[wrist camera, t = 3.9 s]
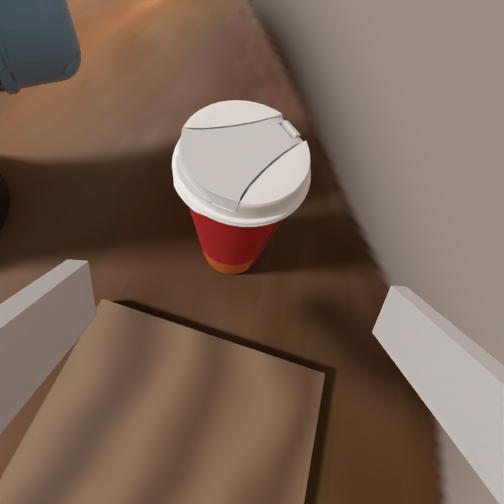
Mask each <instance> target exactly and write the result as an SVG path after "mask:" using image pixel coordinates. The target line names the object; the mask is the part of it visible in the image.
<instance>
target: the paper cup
mask: <svg viewBox="0 0 504 504" xmlns="http://www.w3.org/2000/svg"><path fill="white" fill-rule="evenodd" d="M300 135H301V134H300V133H299V132H298V131H297V130H296V129H295V128H294V127H293V126H292V124H291V123H290V122H289V121H287V120H285V121H284V120H283V119H282V113H280V112H278V111H276V110H275V109H272V108H270V107H268V106H265V105H262V104H259V103H255V102H250V101H240V100H235V101H223V102H218V103H215V104H211V105H209V106H207V107H204V108H202V109H201V110H199V111H198V112H196V113H195V114H194V115H193V116H191V117H190V118H189V120H188V121H187V122H186V123H185V125H184V127H183V128H182V133H181V138H180V139H179V141H178V143H177V145H176V147H175V150H174V153H173V157H172V171H173V182H174V187H175V189H176V191H177V193H178V194H179V196H180V197H181V198H182V200H183V201H184V202H185V203H186V204H187V205H188V206H189V208H190V211H191V214H192V218H193V221H194V224H195V227H196V231H197V234H198V237H199V240H200V243H201V246H202V249H203V252H204V255H205V257H206V259H207V261H208V263H209V264H210V265H211V266H212V267H213V268H214V269H215V270H217V271H218V272H221V273H223V274H229V275H234V274H239V273H242V272H244V271H246V270H248V269H249V268H250V267H251V266H252V265H253V264H254V263H255V261H256V260H257V259H258V257H259V256H260V254H261V253H262V251H263V250H264V248H265V247H266V245H267V244H268V243H269V241H270V240H271V238H272V237H273V235H274V234H275V232H276V231H277V229H278V228H279V226H280V225H281V223H282V222H283V220H284V219H285V218H286V217H287V216H289V215H290V214H291V213H293V212H294V211H295V210H296V209H297V208H298V207H299V206H300V205H301V203H302V202H303V200H304V199H305V197H306V195H307V192H308V190H309V186H310V181H311V171H310V152H309V147H308V144H307V142H306V141H304V142H303V141H302V140H301V138H300V137H299V136H300Z"/></svg>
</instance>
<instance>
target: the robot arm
mask: <svg viewBox="0 0 504 504" xmlns="http://www.w3.org/2000/svg"><path fill="white" fill-rule="evenodd" d="M80 62H81V50H80V46H79V42H78V38H77V35H76V32H75V28H74V25H73V22H72V19H71V16H70V13H69V9H68V6H67V3H66V0H0V92H5V91H6V92H7V93H9V94H17V93H18V92H19V91H20V89H21V88H26V87H31V86H37V85H42V84H47V83H53V82H58V81H63V80H67V79H69V78H71V77H72V76H73V75H75V73H76V72H77V71H78V69H79V66H80ZM7 208H8V192H7V188H6V185H5V182H4V180H3V179H2V177H1V176H0V228H1V226H2V224H3V221H4V219H5V216H6V213H7ZM96 317H97V314H96V308H95V302H94V295H93V289H92V283H91V276H90V270H89V264H88V261H82V260H70V259H67V260H66V261H64V262H63V263H61V264H60V265H58V266H57V267H55V268H54V269H52V270H51V271H49V272H48V273H46V274H45V275H43V276H42V277H40V278H39V279H37V280H36V281H34V282H33V283H31V284H30V285H28V286H27V287H25V288H24V289H22V290H21V291H19V292H18V293H16V294H15V295H13V296H12V297H10V298H9V299H7V300H6V301H4V302H3V303H1V304H0V434H1V433H2V431H3V430H4V429H5V428H6V427H7V425H8V424H9V423H10V422H11V420H12V419H13V418H14V417H15V416H16V414H17V413H18V412H19V411H20V410H21V408H22V407H23V406H24V405H25V403H26V402H27V401H28V400H29V399H30V397H31V396H32V395H33V394H34V392H35V391H36V390H37V389H38V388H39V386H40V385H41V384H42V383H43V382H44V380H45V379H46V378H47V377H48V375H49V374H50V373H51V372H52V371H53V369H54V368H55V367H56V366H57V364H58V363H59V362H60V361H61V360H62V358H63V357H64V356H65V355H66V353H67V352H68V351H69V350H70V349H71V347H72V346H73V345H74V344H75V343H76V341H77V340H78V339H79V338H80V336H81V335H82V334H83V333H84V332H85V330H86V329H87V328H88V327H89V325H90V324H91V323H92V322H93V321H94V319H95V318H96ZM372 333H373V334H374V336H375V337H376V338H377V340H378V341H379V342H380V344H381V345H382V346H383V348H384V349H385V350H386V352H387V353H388V354H389V356H390V357H391V359H392V360H393V361H394V363H395V364H396V365H397V367H398V368H399V369H400V371H401V372H402V373H403V375H404V376H405V377H406V379H407V380H408V381H409V383H410V384H411V385H412V387H413V388H414V389H415V391H416V392H417V393H418V395H419V396H420V397H421V399H422V400H423V402H424V403H425V404H426V406H427V407H428V408H429V410H430V411H431V412H432V414H433V415H434V416H435V418H436V419H437V420H438V422H439V423H440V424H441V426H442V427H443V428H444V430H445V431H446V432H447V434H448V435H449V436H450V438H451V439H452V441H453V442H454V443H455V445H456V446H457V447H458V449H459V450H460V451H461V452H462V454H463V455H464V457H465V458H466V459H467V461H468V462H469V463H470V465H471V466H472V467H473V468H474V470H475V471H476V473H477V474H478V475H479V477H480V478H481V480H482V481H483V482H484V483H485V485H486V486H487V487H488V489H489V490H490V491H491V493H492V494H493V496H494V497H495V498H496V500H497V501H498V502H499V504H504V365H503V364H501V363H500V362H499V361H498V360H496V359H495V358H494V357H493V356H491V355H490V354H489V353H488V352H487V351H485V350H484V349H483V348H482V347H480V346H479V345H478V344H477V343H475V342H474V341H473V340H472V339H470V338H469V337H468V336H467V335H465V334H464V333H463V332H462V331H461V330H459V329H458V328H457V327H455V326H454V325H453V324H452V323H451V322H449V321H448V320H447V319H446V318H444V317H443V316H442V315H441V314H440V313H438V312H437V311H436V310H435V309H433V308H432V307H431V306H430V305H428V304H427V303H426V302H424V301H423V300H422V299H421V298H420V297H418V296H417V295H416V294H415V293H414V292H412V291H411V290H410V289H409V288H407V287H402V286H391V287H390V290H389V292H388V295H387V297H386V299H385V302H384V304H383V307H382V309H381V312H380V314H379V316H378V319H377V321H376V324H375V326H374V328H373V331H372Z"/></svg>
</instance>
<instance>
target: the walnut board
mask: <svg viewBox="0 0 504 504" xmlns="http://www.w3.org/2000/svg"><path fill="white" fill-rule="evenodd" d="M96 314H97V317H96V318H95V319H94V321H93V322H92V323H91V324H90V325H89V327H88V328H87V329H86V330H85V332H84V333H83V334H82V335H81V337H80V339H79V340H78V342H77V344H76V346H75V347H74V349H73V351H72V353H71V355H70V356H69V358H68V360H67V362H66V363H65V365H64V367H63V369H62V370H61V372H60V374H59V376H58V378H57V379H56V381H55V383H54V385H53V386H52V388H51V390H50V392H49V394H48V395H47V397H46V399H45V401H44V402H43V404H42V406H41V408H40V409H39V411H38V413H37V415H36V417H35V418H34V420H33V422H32V424H31V425H30V427H29V429H28V431H27V433H26V434H25V436H24V438H23V440H22V441H21V443H20V445H19V447H18V448H17V450H16V452H15V454H14V456H13V457H12V459H11V461H10V463H9V464H8V466H7V468H6V470H5V472H4V473H3V475H2V477H1V479H0V504H304V500H305V494H306V488H307V482H308V475H309V469H310V463H311V457H312V451H313V445H314V439H315V433H316V427H317V421H318V414H319V408H320V402H321V396H322V390H323V384H324V378H325V373H322V372H319V371H316V370H313V369H310V368H307V367H304V366H301V365H298V364H295V363H292V362H289V361H286V360H283V359H280V358H277V357H274V356H271V355H268V354H265V353H262V352H260V351H257V350H254V349H251V348H248V347H245V346H242V345H239V344H236V343H233V342H230V341H227V340H224V339H221V338H218V337H215V336H212V335H209V334H206V333H203V332H200V331H197V330H194V329H191V328H188V327H185V326H182V325H179V324H176V323H173V322H170V321H167V320H164V319H161V318H158V317H155V316H152V315H149V314H146V313H144V312H141V311H138V310H135V309H132V308H129V307H126V306H123V305H120V304H117V303H114V302H111V301H108V300H105V299H102V300H101V301H100V303H99V305H98V307H97V308H96Z"/></svg>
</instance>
